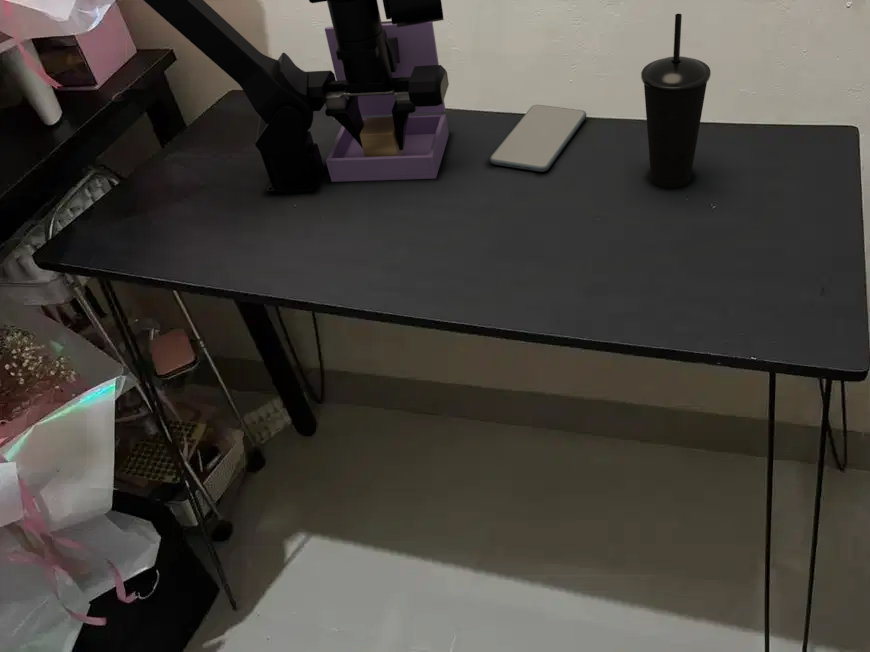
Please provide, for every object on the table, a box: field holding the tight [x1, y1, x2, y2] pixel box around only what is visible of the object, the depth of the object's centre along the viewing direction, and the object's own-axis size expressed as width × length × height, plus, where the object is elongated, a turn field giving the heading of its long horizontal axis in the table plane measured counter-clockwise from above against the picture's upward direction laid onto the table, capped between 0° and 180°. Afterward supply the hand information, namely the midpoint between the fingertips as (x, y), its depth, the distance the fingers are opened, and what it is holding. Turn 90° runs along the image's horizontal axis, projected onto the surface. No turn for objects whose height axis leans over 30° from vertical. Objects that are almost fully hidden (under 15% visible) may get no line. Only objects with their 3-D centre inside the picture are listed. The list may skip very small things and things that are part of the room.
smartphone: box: [489, 104, 587, 173], centre depth 112 cm, size 8×1×15 cm
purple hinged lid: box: [324, 20, 446, 117], centre depth 112 cm, size 12×14×4 cm
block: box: [360, 116, 405, 157], centre depth 110 cm, size 4×4×4 cm
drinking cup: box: [640, 13, 712, 189], centre depth 96 cm, size 8×8×20 cm
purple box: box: [325, 113, 450, 183], centre depth 112 cm, size 11×14×3 cm
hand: (384, 149), depth 110 cm, fingers closed on block, 4 cm apart
